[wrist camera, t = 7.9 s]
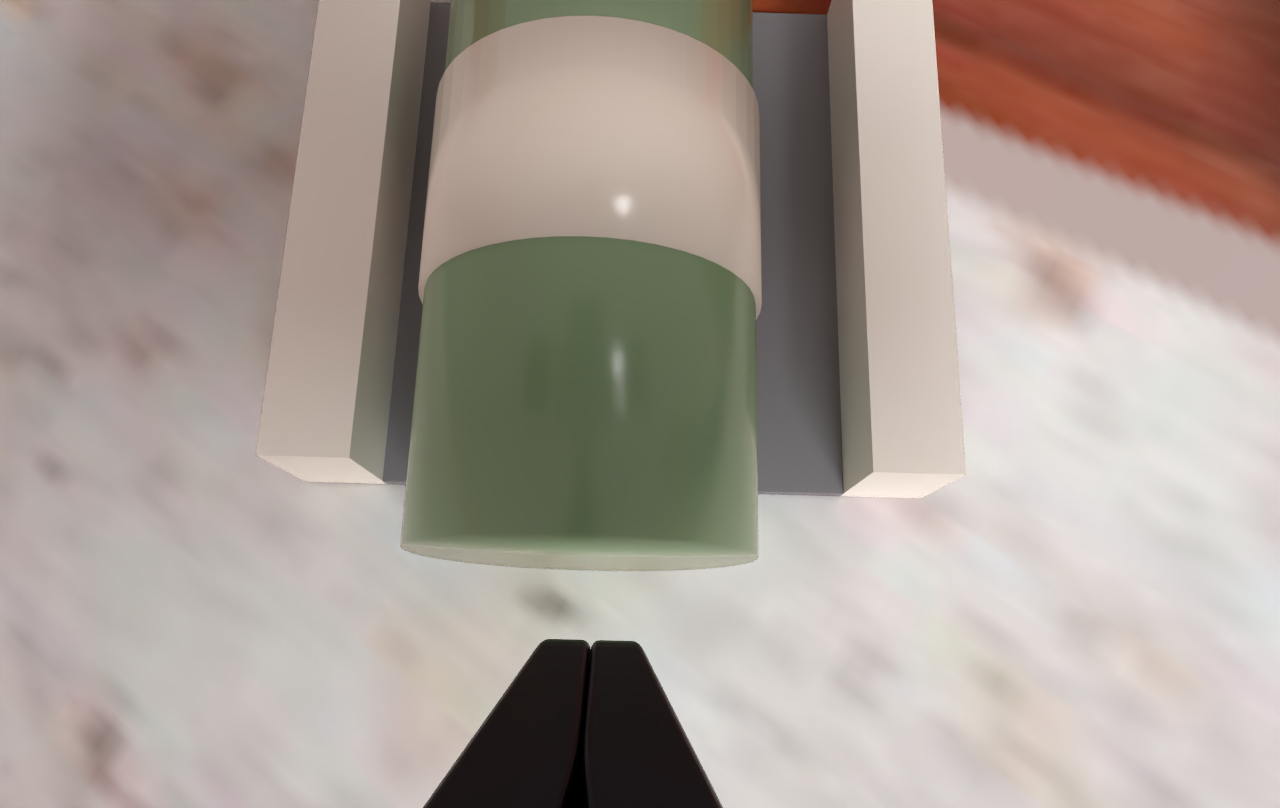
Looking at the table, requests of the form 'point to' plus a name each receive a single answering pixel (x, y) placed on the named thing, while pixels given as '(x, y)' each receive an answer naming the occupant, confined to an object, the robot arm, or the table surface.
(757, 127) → the bottle
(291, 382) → the rest
